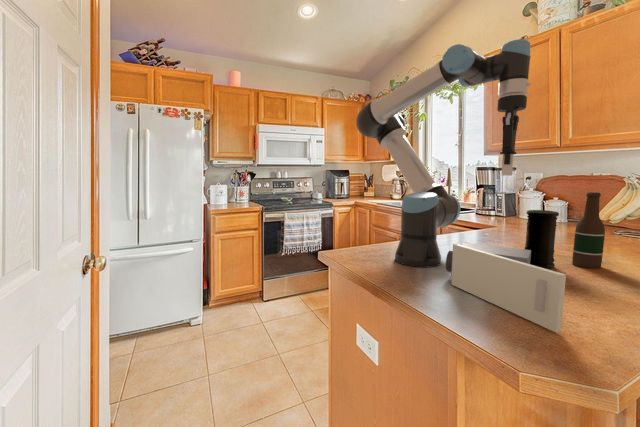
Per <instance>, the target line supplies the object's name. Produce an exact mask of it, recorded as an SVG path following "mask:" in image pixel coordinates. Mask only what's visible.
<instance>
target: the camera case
mask: <svg viewBox="0 0 640 427" xmlns="http://www.w3.org/2000/svg"><path fill="white" fill-rule="evenodd" d="M461 245H463V246H466V247H470V248H473V249H477V250H480V251H484V252H488V253H491V254H495V255H498V256H502V257H505V258H509V259H512V260H516V261H520V262H523V263H527V264H530V259H531V250H525V249H524V248H514V247H507V246H506V247H505V246H498V245H489V244H483V243H482V244H481V243H473V242H464V243H461ZM452 254H453V250H449V251H448V252H447V255H446V257H445V269H446V272H447V273H452Z"/></svg>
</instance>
